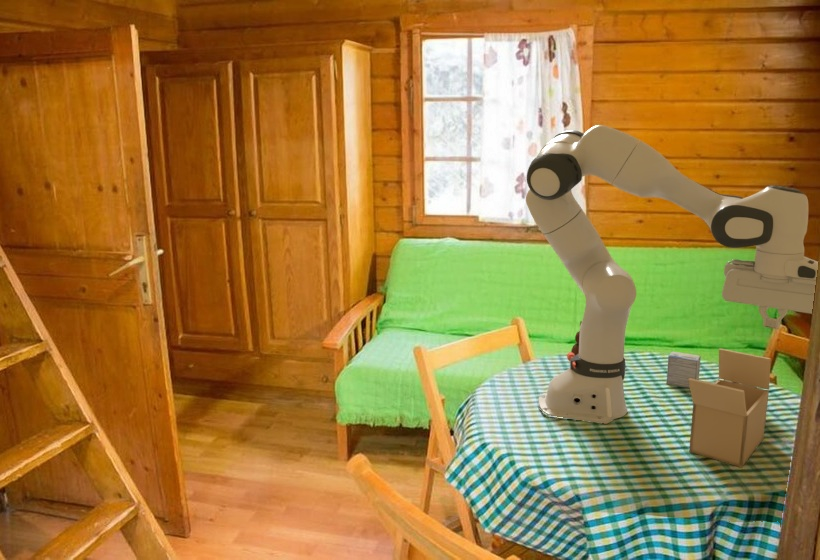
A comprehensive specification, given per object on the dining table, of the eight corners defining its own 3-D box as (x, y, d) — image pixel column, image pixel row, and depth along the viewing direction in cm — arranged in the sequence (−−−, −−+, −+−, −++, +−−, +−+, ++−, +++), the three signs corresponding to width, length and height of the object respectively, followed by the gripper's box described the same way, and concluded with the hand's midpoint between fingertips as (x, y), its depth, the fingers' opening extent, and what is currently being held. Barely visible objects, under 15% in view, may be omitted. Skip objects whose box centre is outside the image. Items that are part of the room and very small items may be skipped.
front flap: (693, 401, 143) (692, 403, 143) (689, 377, 138) (688, 379, 138) (746, 415, 136) (746, 416, 135) (744, 390, 131) (743, 392, 131)
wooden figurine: (579, 371, 194) (581, 323, 190) (567, 365, 199) (569, 318, 196) (597, 368, 197) (599, 320, 193) (585, 362, 202) (587, 315, 198)
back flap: (718, 349, 152) (719, 348, 152) (718, 378, 155) (719, 377, 155) (769, 359, 145) (770, 358, 145) (768, 389, 148) (769, 388, 148)
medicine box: (698, 384, 183) (701, 355, 181) (696, 389, 179) (698, 360, 177) (669, 379, 187) (671, 350, 185) (665, 384, 183) (668, 355, 181)
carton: (689, 451, 146) (693, 402, 143) (713, 425, 158) (718, 379, 155) (741, 467, 139) (747, 415, 136) (763, 438, 151) (769, 390, 148)
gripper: (720, 260, 140) (715, 321, 143) (831, 273, 127) (822, 340, 130) (729, 256, 145) (724, 315, 148) (837, 267, 131) (829, 332, 134)
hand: (771, 327), depth 139 cm, fingers closed
